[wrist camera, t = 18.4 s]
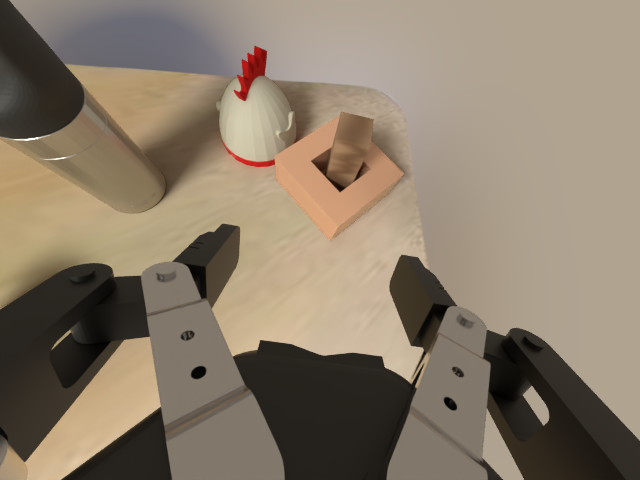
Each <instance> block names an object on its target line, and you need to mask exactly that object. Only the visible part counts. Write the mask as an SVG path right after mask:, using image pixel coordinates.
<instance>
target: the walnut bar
mask: <svg viewBox="0 0 640 480" xmlns="http://www.w3.org/2000/svg"><path fill="white" fill-rule="evenodd" d="M373 120H374V119H370V118H366V117H361V116H357V115H353V114H349V113H345V112H341V114H340V118H339V122H338V126H337V130H336V133H335V137H334V141H333V145H332V149H331V152H330V156H329V160H328V164H327V168H326V171H325V177H326V178H327V179H328V180H329V181H330V182H331V184H332V185H333V186H334V187H335V188H336V189H337V190H338V191H339V192H341V191H343V190H344V189H345V188H347V187H348V186H349V185H351V184H352V183H353V181H354V179H355V177H356V175H357V173H358V171H359V169H360V167H361V165H362V163H363V161H364V159H365V157H366V155H367V153H368V150H369V148H370V146H371V138H372V129H373Z"/></svg>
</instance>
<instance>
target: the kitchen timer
mask: <svg viewBox="0 0 640 480" xmlns="http://www.w3.org/2000/svg"><path fill="white" fill-rule="evenodd" d="M247 55H248V62H247V61H245V60H242V69H243V74H241V75H237V77H236V78H235V79H234V80H233V81H232V82H231V83H230V84H228V86H227V87H226V90H225V93H224V95H223V97H222V98H221V99H220V100H219V101H217V103H216V107H217V110H218V111H220V117H219V127H220V132H221V137H222V141H223V143H224V146H225V147H226V149H227V151H228V152H229V154H230V155H232V156H233V157H234V158H235V159H236V160H238V161H240V162H242V163H244V164H246V165H250V166H255V167H266V166H271V165H274V164H275V157H274V156H275V155H277V154H278V153H280V152H282V151H283V150H285V149H286V148H288V147H290V146H291V145H293V144H295V143H296V121H295V112H294V111H291V108H290V105H289V103H288V100H287V98H286V97H285V95H284V94H283V93H282V91H281V90H280V88H279V87H278V86H277V85H276V84H275V83H274V82H273V81H271V80H270V79H269V78H268V77H266V76H265V67H266V58H267V51H265V50H263V49H261V48H259V47H256V46H255V48H254V55H252V54H249V53H248V54H247Z"/></svg>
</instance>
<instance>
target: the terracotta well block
mask: <svg viewBox="0 0 640 480" xmlns="http://www.w3.org/2000/svg"><path fill="white" fill-rule="evenodd" d="M339 118H340V116H338V117H336V118H335V119H333V120H332V121H330V122H328V123H327V124H325V125H324V126H322V127H320V128H319V129H317V130H315V131H314V132H312V133H311V134H309V135H307V136H306V137H304V138H303V139H301V140H299V141H298V142H296V143H295V144H293V145H291V146H290V147H288V148H286V149H285V150H283V151H282V152H280V153H278V154H277V155H275V156H274V157H275V169H276V180H277V181H278V182H279V183H280V185H281V186H282V187H283V188H284V189H285V190H286V191H287V193H288V194H289V195H290V196H291V197H292V198H293V199H294V200H295V202H296V203H297V204H298V205H299V206H300V207H301V208H302V209H303V211H304V212H305V213H306V214H307V215H308V216H309V217H310V219H311V220H312V221H313V222H314V223H315V224H316V225H317V226H318V228H319V229H320V230H321V231H322V232H323V233H324V234H325V235H326V237H327V238H328V239H329V240H330V241H331V240H332V239H333V238H334V237H336V236H337V235H338V234H339V233H341V232H342V231H343V230H344V229H345V228H347V227H348V226H349V225H350V224H352V223H353V222H354V221H355V220H356V219H358V218H359V217H360V216H361V215H363V214H364V213H365V212H366V211H367V210H369V209H370V208H371V207H372V206H374V205H375V204H376V203H377V202H378V201H380V200H381V199H382V198H383V197H385V196H386V195H387V194H388V193H389V192H390V191H391V189H392V188H393V187H394V186H395V184H396V183H397V182H398V181H399V180H400V178H401V177H402V176H403V175H404V173H403V172H402V171H401V170H400V169H399V168H398V167H397V166H396V165H395V164H394V163H393V162H392V161H391V160H390V159H389V158H388V157H387V156H386V155H385V154H384V153H383V152H382V151H381V150H380V149H379V148H378V147H377V146H376V145H375V144H374V143H373V142H372V141H371V146H370V148H369V150H368V153H367V155H366V157H365V159H364V161H363V163H362V165H361V167H360V169H359V171H358V173H357V175H356V177H355V179H354V181H353V183H352V184H351V185H349V186H348V187H347V188H345V189H344V190H343V191H341V192H339V191H338V190H337V189H336V188H335V187H334V186H333V185H332V184H331V182H330V181H329V180H328V179H327V178H326V177H325V171H326V168H327V164H328V160H329V156H330V152H331V149H332V145H333V141H334V137H335V133H336V130H337V126H338V122H339Z"/></svg>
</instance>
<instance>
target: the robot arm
mask: <svg viewBox="0 0 640 480" xmlns="http://www.w3.org/2000/svg"><path fill="white" fill-rule="evenodd" d="M0 139H1V140H3V141H4V142H6V143H8V144H9V145H11V146H12V147H14V148H16V149H17V150H19V151H21V152H22V153H24V154H26V155H27V156H29V157H31V158H32V159H34V160H36V161H37V162H39V163H41V164H42V165H44V166H45V167H47V168H49V169H50V170H52V171H54V172H55V173H57V174H58V175H60V176H62V177H63V178H65V179H67V180H68V181H70V182H71V183H73V184H75V185H76V186H78V187H80V188H81V189H83V190H85V191H86V192H88V193H89V194H91V195H93V196H94V197H96V198H97V199H99V200H101V201H102V202H104V203H106V204H107V205H109V206H110V207H112V208H114V209H116V210H118V211H120V212H124V213H139V212H143V211H146V210H148V209H150V208H152V207H153V206H154V205H156V204H157V203H158V202H159V201H160V200H161V198H162V197H163V195H164V192H165V189H166V182H165V179H164V176H163V175H162V173H161V172H160V171H159V170H158V169H157V168H156V167H155V165H154V164H153V163H152V162H151V161H150V160H149V159H148V157H147V156H146V155H145V154H144V153H143V152H142V151H141V150H140V148H139V147H138V146H137V145H136V144H135V143H134V142H133V141H132V139H131V138H130V137H129V136H128V135H127V134H126V133H125V132H124V131H123V129H122V128H121V127H120V126H119V125H118V124H117V123H116V122H115V120H114V119H113V118H112V117H111V116H110V115H109V114H108V113H107V111H106V110H105V109H104V108H103V107H102V106H101V105H100V104H99V103H98V102H97V100H96V99H95V98H94V97H93V96H92V95H91V94H90V93H89V92H88V90H87V89H86V88H85V87H84V86H83V85H82V84H81V83H80V82H79V80H78V79H77V78H76V77H75V76H74V75H73V74H72V72H71V71H70V70H69V69H68V68H67V67H66V66H65V65H64V63H63V62H62V61H61V60H60V59H59V58H58V57H57V55H56V54H55V53H54V52H53V50H52V49H51V48H50V47H49V46H48V45H47V43H46V42H45V41H44V40H43V39H42V38H41V37H40V35H39V34H38V33H37V32H36V31H35V30H34V29H33V27H32V26H31V25H30V24H29V23H28V22H27V21H26V19H25V18H24V17H23V16H22V15H21V14H20V13H19V11H18V10H17V9H16V8H15V7H14V6H13V4H12V3H11V2H10V1H9V0H0ZM239 244H240V227H239V226H234V225H228V224H222V225H221V226H220V227H219V228H218V229H217V230H216V231H215V232H207V233H205V234H202V235H200V236H199V237H198V238H197V239H196V240H195V241H194V242H193V243H191V244H190V245H189V247H187V248H186V249H185V250H184V251H183V252H182V253H181V254H180V255H179V256H178V257H177V258H176V259H175V260H174V261H172V262H164V263H159V264H155V265H153V266H151V267H149V268H147V269H146V270H145V271H144V272H143V273H142V275H141V276H124V277H114V274H113V270H112V268H111V267H110V266H108V265H105V264H99V263H90V264H82V265H77V266H74V267H70V268H67V269H65V270H63V271H61V272H59V273H57V274H56V275H54V276H53V277H51V278H49V279H48V280H46V281H45V282H43V283H42V284H40V285H38V286H37V287H35V288H34V289H32V290H31V291H29V292H27V293H26V294H24V295H23V296H21V297H20V298H18V299H16V300H15V301H13V302H12V303H10V304H9V305H7V306H5V307H4V308H2V309H1V310H0V480H27V474H28V471H27V466H26V464H25V462H26V460H27V459H28V458H29V457H30V455H31V454H32V453H33V452H34V451H35V449H36V448H37V447H38V446H39V444H40V443H41V442H42V441H43V439H44V438H45V437H46V436H47V435H48V433H49V432H50V431H51V430H52V428H53V427H54V426H55V425H56V423H57V422H58V421H59V420H60V418H61V417H62V416H63V415H64V414H65V412H66V411H67V410H68V409H69V407H70V406H71V405H72V404H73V402H74V401H75V400H76V399H77V397H78V396H79V395H80V394H81V393H82V391H83V390H84V389H85V388H86V386H87V385H88V384H89V383H90V381H91V380H92V379H93V378H94V376H95V375H96V374H97V373H98V372H99V370H100V369H101V368H102V367H103V365H104V364H105V363H106V362H107V360H108V359H109V358H110V357H111V356H112V354H113V353H114V352H115V351H116V349H117V348H118V347H119V346H120V344H121V343H122V342H123V341H124V340H126V339H134V338H142V337H150V340H151V346H152V353H153V359H154V365H155V372H156V378H157V384H158V391H159V397H160V403H161V407H160V408H158V409H157V410H156V411H154V412H153V413H152V414H150V415H149V416H147V417H146V418H145V419H143V420H142V421H141V422H139V423H138V424H137V425H135V426H134V427H132V428H131V429H130V430H128V431H127V432H126V433H124V434H123V435H122V436H120V437H119V438H117V439H116V440H115V441H113V442H112V443H111V444H109V445H108V446H107V447H105V448H104V449H102V450H101V451H100V452H98V453H97V454H96V455H94V456H93V457H91V458H90V459H89V460H87V461H86V462H85V463H83V464H82V465H81V466H79V467H78V468H76V469H75V470H74V471H72V472H71V473H70V474H68V475H67V476H66V477H64V478H63V479H61V480H503V479H502V478H501V477H500V476H499V475H498V474H497V473H496V472H495V471H494V470H493V469H492V468H491V467H490V466H489V464H488V463H487V462H486V461H485V460H484V459H483V458H482V453H483V442H484V431H485V421H486V409H488V411H489V412H490V415H491V417H492V418H493V420H494V422H495V424H496V426H497V428H498V430H499V432H500V434H501V436H502V438H503V440H504V441H505V443H506V445H507V447H508V449H509V451H510V453H511V455H512V457H513V459H514V461H515V463H516V465H517V466H518V468H519V470H520V472H521V474H522V476H523V478H524V480H640V441H639V440H638V439H637V437H636V436H635V435H634V434H633V433H632V432H631V431H630V430H629V429H628V428H627V427H626V426H625V425H624V424H623V423H622V422H621V421H620V420H619V418H618V417H617V416H616V415H615V414H614V413H613V412H612V411H611V410H610V409H609V408H608V407H607V406H606V405H605V404H604V403H603V402H602V400H601V399H600V398H598V396H597V395H596V394H595V393H594V392H593V391H592V390H591V389H590V388H589V387H588V386H587V385H586V384H585V383H584V382H583V380H582V379H581V378H580V377H579V376H578V375H577V374H576V373H575V372H574V371H573V370H572V369H571V368H570V367H569V366H568V365H567V363H565V361H564V360H563V359H562V358H561V357H560V356H559V355H558V354H557V353H556V352H555V351H554V350H553V349H552V348H551V347H550V346H549V345H548V344H547V343H546V342H545V341H543V340H542V339H541V338H539V337H538V336H536V335H534V334H532V333H530V332H528V331H526V330H523V329H519V328H513V329H511V330H510V331H509V332H508V334H507V335H506V336H503V335H500V334H497V333H495V332H492V331H489V330H487V327H486V325H485V323H484V322H483V321H482V320H481V319H480V318H479V317H478V316H477V315H475V314H474V313H472V312H471V311H469V310H467V309H464V308H461V307H457V305H456V304H455V303H454V301H453V300H452V298H451V297H450V296H449V294H448V293H447V291H446V290H444V287H443V286H442V285H441V284H440V282H439V280H438V279H437V278H436V276H435V275H434V274H433V273H431V272H430V271H429V270H428V269H426V268H425V267H424V265H423V264H422V262H421V261H420V260H419V258H418V257H412V256H407V255H401V256H400V258H399V260H398V263H397V265H396V268H395V270H394V273H393V275H392V278H391V280H390V293H391V296H392V298H393V301H394V303H395V306H396V308H397V311H398V314H399V316H400V319H401V321H402V324H403V326H404V329H405V331H406V334H407V336H408V339H409V342H410V344H411V346H416V347H423V349H424V351H423V353H422V355H421V357H420V359H419V361H418V363H417V365H416V368H415V370H414V372H413V374H412V376H411V379H410V381H409V382H408V381H407V380H406V379H404V378H403V377H402V376H400V375H398V374H397V373H395V372H393V371H391V370H389V369H387V368H385V367H384V363H383V359H382V357H381V356H373V355H366V354H359V353H346V354H336V355H327V356H322V355H318V354H316V353H313V352H310V351H308V350H305V349H302V348H300V347H297V346H295V345H292V344H286V343H278V342H271V341H264V340H260V344H259V347H258V350H254V351H249V352H244V353H241V354H238V355H235V356H233V357H232V355H231V352H230V350H229V348H228V345H227V343H226V341H225V339H224V336H223V334H222V332H221V329H220V327H219V325H218V323H217V320H216V318H215V316H214V313H213V311H212V307H213V306H214V304H215V302H216V301H217V299H218V297H219V295H220V294H221V292H222V290H223V289H224V287H225V285H226V283H227V282H228V280H229V278H230V277H231V275H232V273H233V271H234V270H235V268H236V266H237V263H238V259H239ZM69 330H71V333H70V334H69V335H68V336H67V337H65V338H64V339H63V340H62V341H61V342H60V343H59V344H58V345H57V346H56V347H55V348H54V349H52V347H53V346H54V344H55V343H56V342H57V341H58V340H59V339H60V338H61V337H62V336H63V335H64V334H65V333H66V332H67V331H69ZM51 349H52V350H51ZM531 386H533V387H534V389H535V390H536V392H537V393H538V394H539V396H540V397H541V398H542V400H543V401H544V402H545V404H546V406H547V408H548V410H549V421H548V423H547V424H545V425H544V426H543V425H542V423H541V422H540V420H539V419H538V417H537V416H536V414H535V413H534V411H533V410H532V408H531V407H530V405H529V404H528V402H527V401H526V400H525V398H524V397H523V394H524V393H525V392H526V391H527V390H528V389H529V388H530V387H531Z"/></svg>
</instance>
